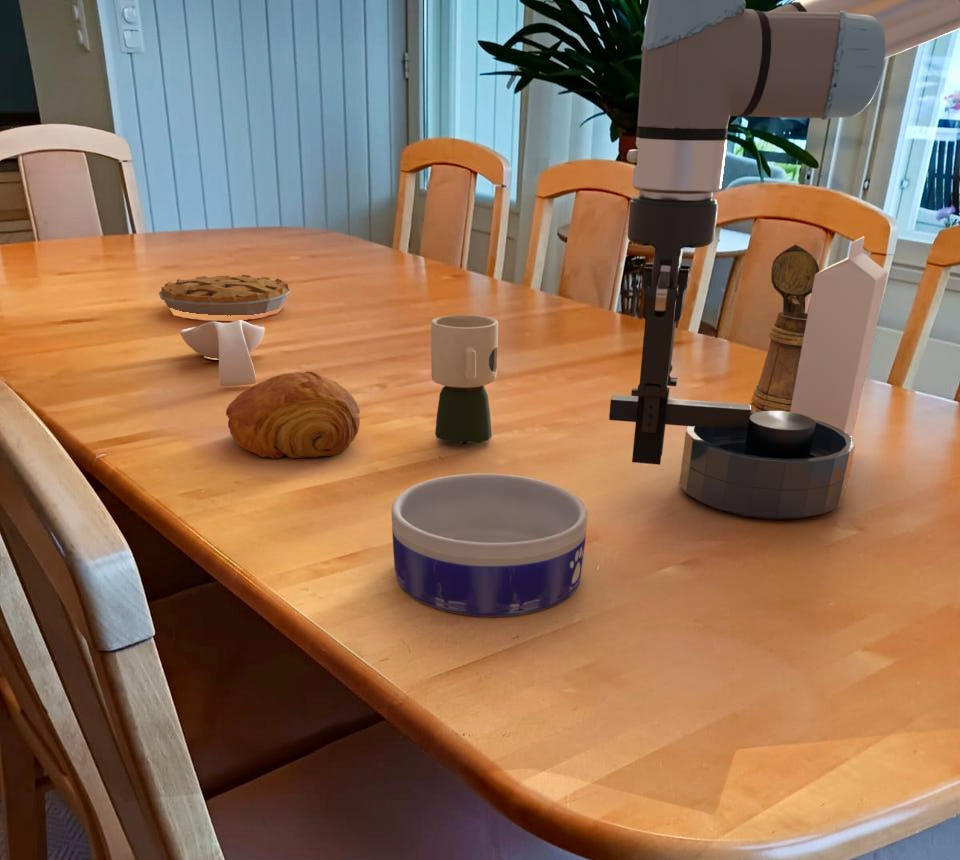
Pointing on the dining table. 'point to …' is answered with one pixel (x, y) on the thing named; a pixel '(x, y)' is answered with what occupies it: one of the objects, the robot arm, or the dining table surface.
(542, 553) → the dog bowl
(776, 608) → the dining table surface
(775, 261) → the brown wooden tall piece
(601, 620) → the dining table surface
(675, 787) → the dining table surface
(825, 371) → the milk
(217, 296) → the pie
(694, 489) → the serving bowl
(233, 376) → the spoon rest
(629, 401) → the ladle
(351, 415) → the croissant
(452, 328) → the character mug
